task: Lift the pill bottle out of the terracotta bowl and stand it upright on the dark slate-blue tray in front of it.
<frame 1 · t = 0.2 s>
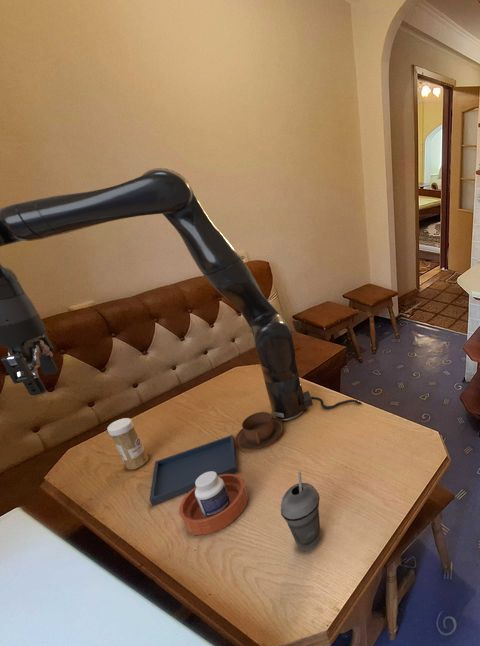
hand: (45, 383, 78), 29 cm above the table, tool pointing down, fingers open, 8 cm apart
beverage cup: (309, 540, 77), on the table
sprinkles bottle: (138, 463, 94), on the table
tray: (197, 469, 93), on the table
bowl: (217, 509, 83), on the table
cup and saucer: (261, 437, 103), on the table
pill bottle: (217, 509, 83), resting on bowl
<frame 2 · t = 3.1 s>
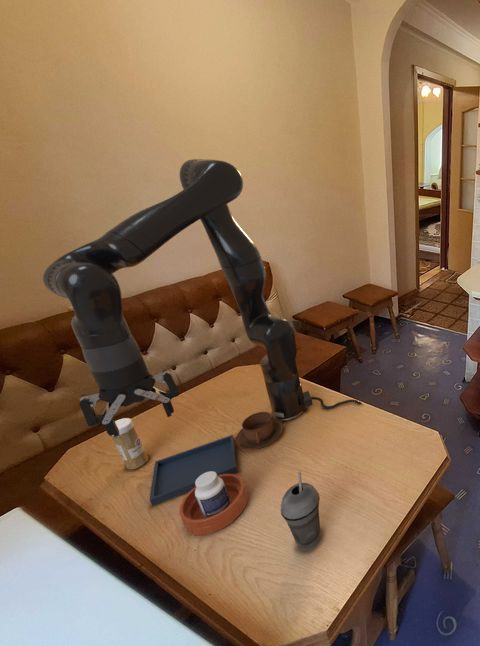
hand: (144, 424, 76), 23 cm above the table, tool pointing down, fingers open, 8 cm apart
nothing on the table moved.
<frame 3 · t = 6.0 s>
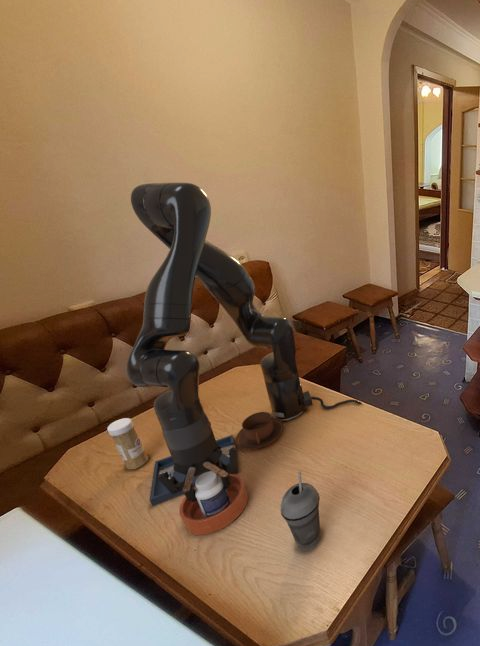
hand: (211, 492, 80), 6 cm above the table, tool pointing down, fingers closed on pill bottle, 5 cm apart
pill bottle: (217, 509, 83), resting on bowl, touching gripper
everything else where it was.
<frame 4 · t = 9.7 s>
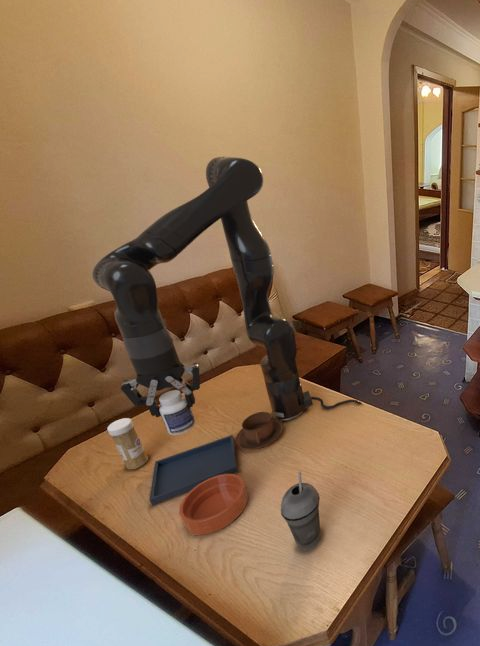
hand: (175, 409, 84), 20 cm above the table, tool pointing down, fingers closed on pill bottle, 5 cm apart
pill bottle: (182, 428, 86), point 15 cm above the table, touching gripper
everything else where it was.
when the fingers open (6 cm above the table, at t = 13.4 s): pill bottle stays where it is, resting on tray.
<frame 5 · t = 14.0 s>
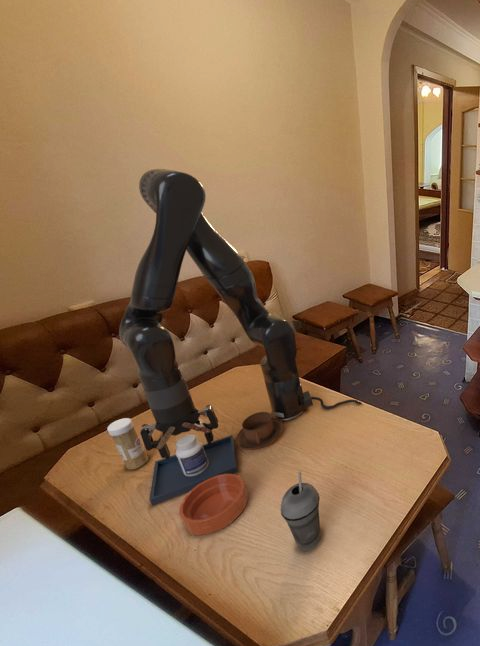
hand: (189, 449, 90), 7 cm above the table, tool pointing down, fingers open, 8 cm apart
pill bottle: (197, 468, 92), resting on tray
everything else where it was.
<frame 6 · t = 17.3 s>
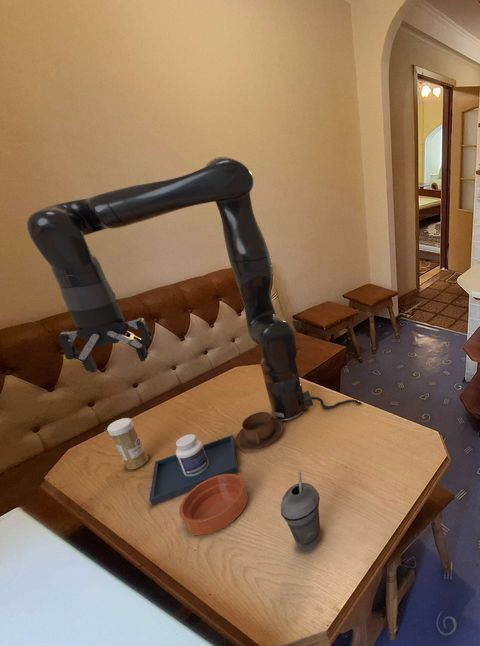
hand: (119, 365, 83), 30 cm above the table, tool pointing down, fingers open, 8 cm apart
nothing on the table moved.
at the end: pill bottle inside the target area in the tray (0.0 cm from its centre), point 0.3 cm above the tray's base; pill bottle tilted 0°; the gripper is holding nothing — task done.
